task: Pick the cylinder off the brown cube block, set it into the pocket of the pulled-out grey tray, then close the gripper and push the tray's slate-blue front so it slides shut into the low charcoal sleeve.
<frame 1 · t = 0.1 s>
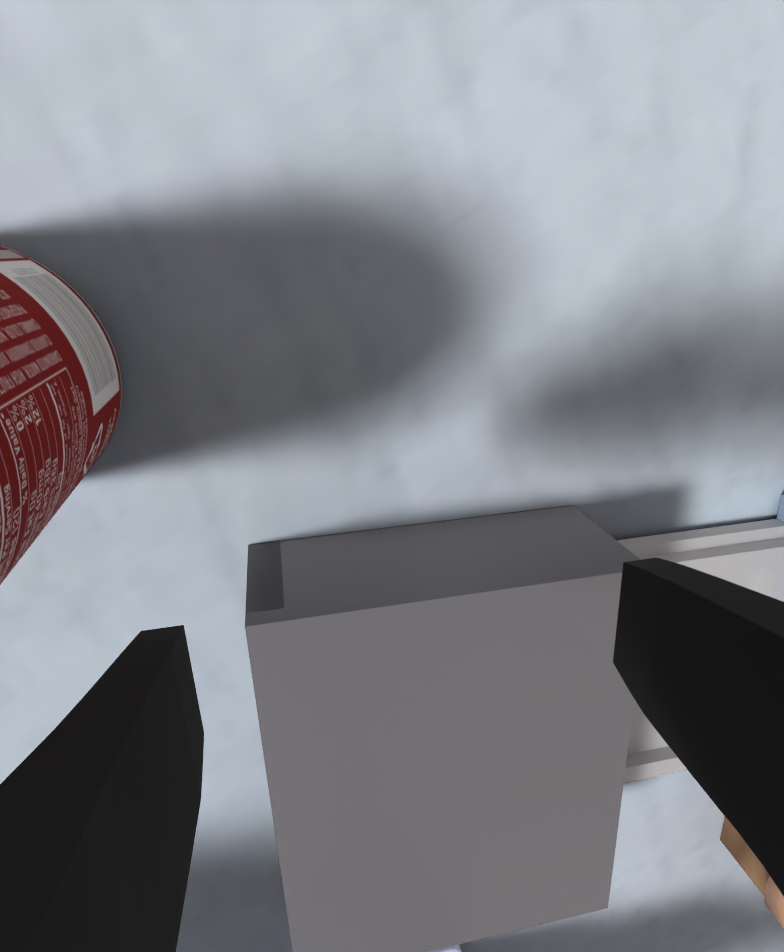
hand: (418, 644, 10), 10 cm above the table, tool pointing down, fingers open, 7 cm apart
tray: (681, 686, 23), point 2 cm above the table, slide at 8.0 cm
brown cube block: (759, 804, 29), on the table
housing: (433, 691, 23), on the table
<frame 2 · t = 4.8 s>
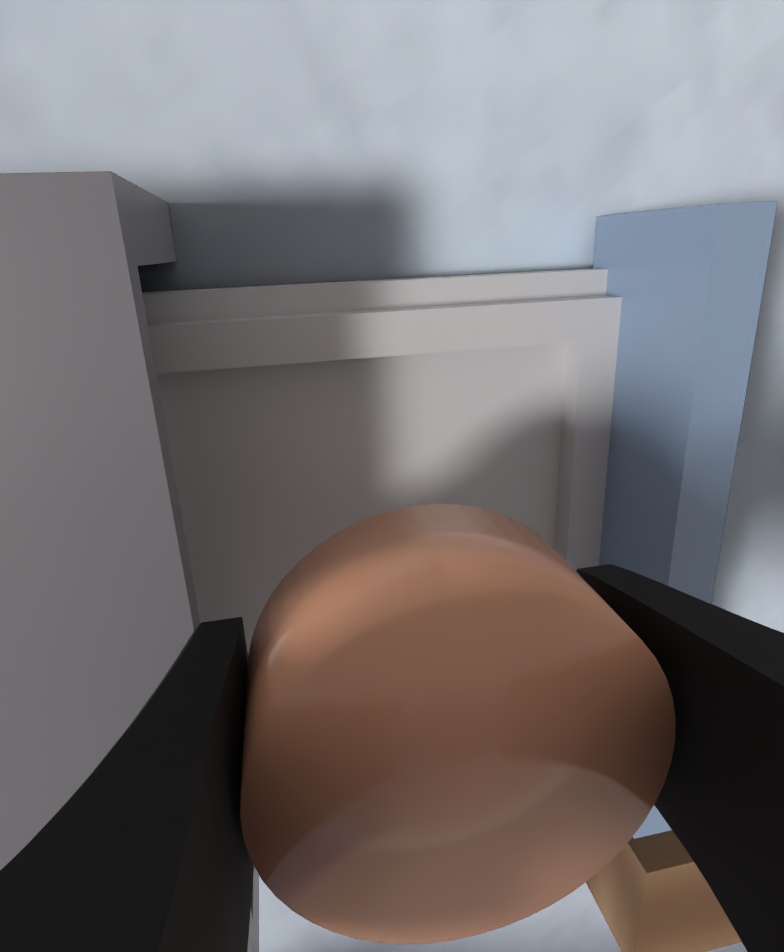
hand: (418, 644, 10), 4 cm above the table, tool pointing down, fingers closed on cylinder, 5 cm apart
tray: (410, 570, 12), point 2 cm above the table, slide at 8.0 cm
brown cube block: (627, 795, 19), on the table
cylinder: (424, 663, 10), point 5 cm above the table, touching gripper
when the fingers open (3 cm above the table, at t = 6.3 s): cylinder drops 2 cm, resting on tray.
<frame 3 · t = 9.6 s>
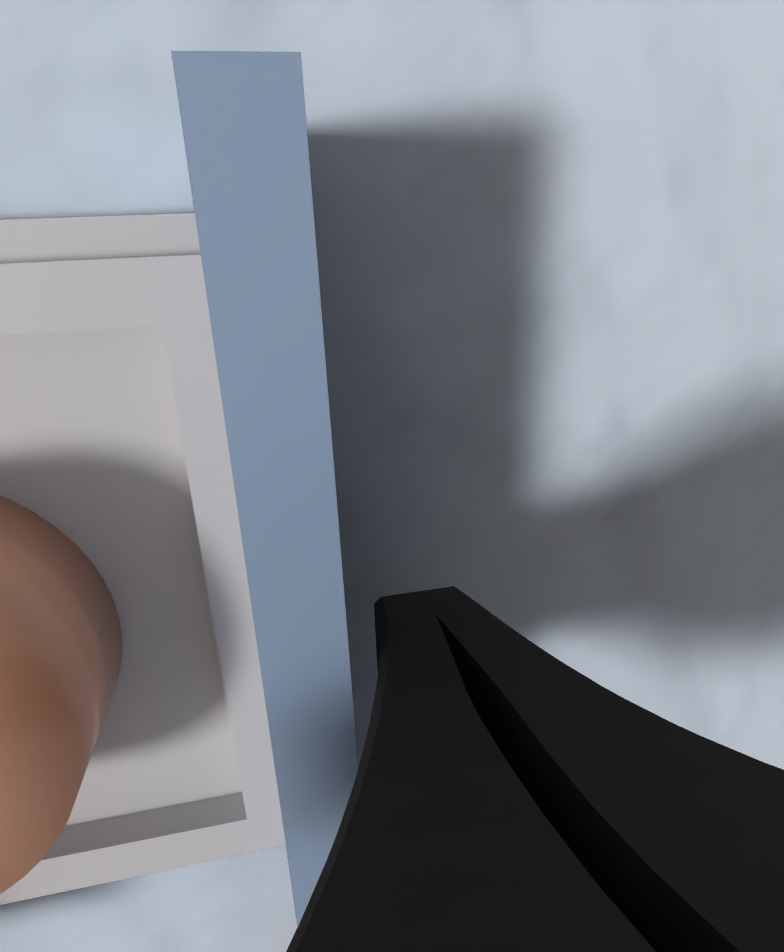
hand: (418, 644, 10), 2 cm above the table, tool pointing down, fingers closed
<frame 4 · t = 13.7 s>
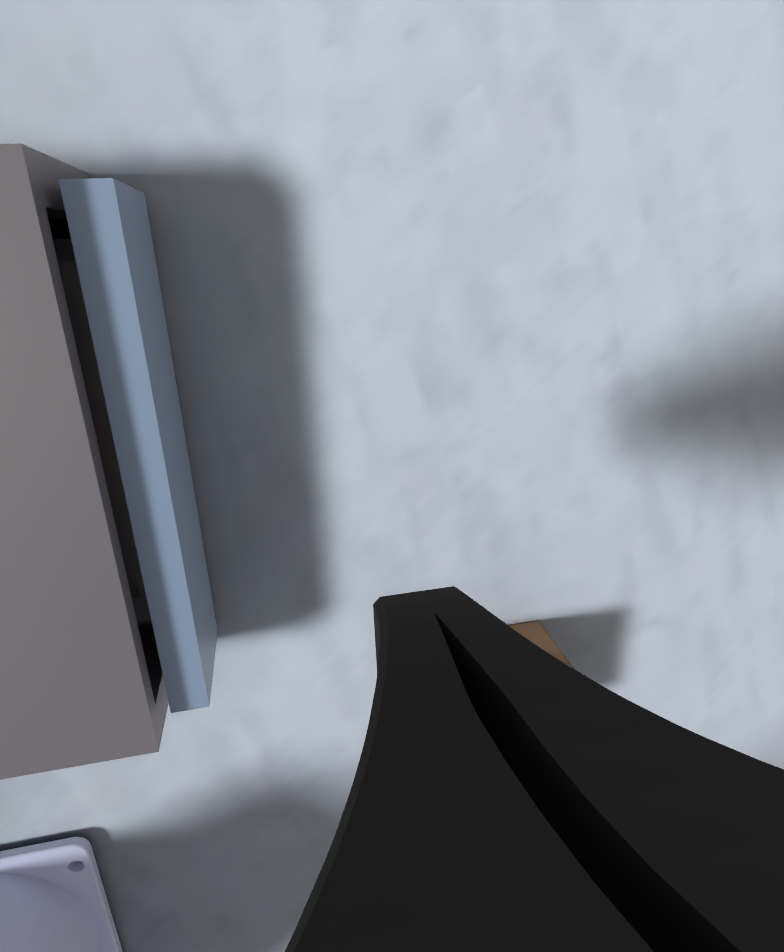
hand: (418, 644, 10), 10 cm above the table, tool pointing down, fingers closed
brown cube block: (491, 668, 23), on the table
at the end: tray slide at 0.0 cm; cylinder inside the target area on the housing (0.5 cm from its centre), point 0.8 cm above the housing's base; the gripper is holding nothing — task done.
